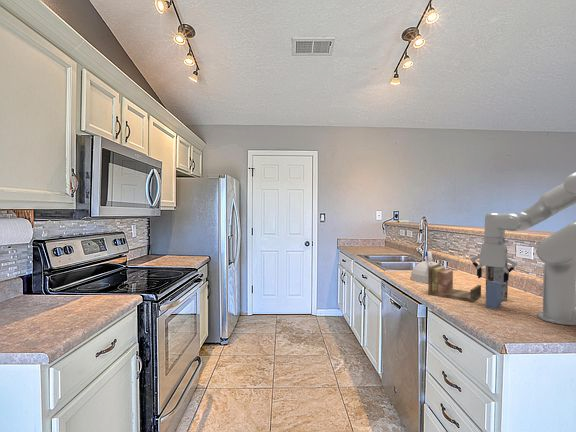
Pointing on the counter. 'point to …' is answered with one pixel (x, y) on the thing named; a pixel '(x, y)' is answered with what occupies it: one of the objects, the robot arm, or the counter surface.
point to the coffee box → (497, 279)
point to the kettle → (422, 269)
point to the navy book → (493, 295)
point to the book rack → (448, 285)
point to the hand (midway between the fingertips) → (492, 279)
